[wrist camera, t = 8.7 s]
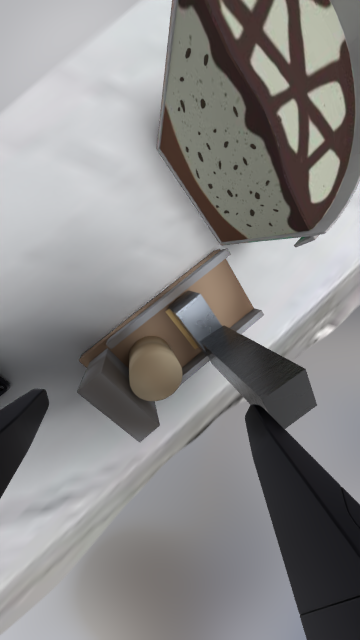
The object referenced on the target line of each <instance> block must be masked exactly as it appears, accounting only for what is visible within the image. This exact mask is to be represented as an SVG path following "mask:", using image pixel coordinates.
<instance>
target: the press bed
mask: <svg viewBox="0 0 360 640" xmlns="http://www.w3.org/2000/svg"><path fill="white" fill-rule="evenodd" d="M229 255H231V254H230V252H229V251H228V249H223V250H220V249H219V250H215V251H213V252H212V253H211V254H209V255H208V256H207V257H206V258H204V259H203V260H202V261H201V262H199V263H198V264H197V265H196V266H194V267H193V268H192V269H190V270H189V271H188V272H187V273H185V274H184V275H183V276H182V277H180V278H179V279H178V280H177V281H175V282H174V283H173V284H171V285H170V286H169V287H168V288H166V289H165V290H164V291H163V292H161V293H160V294H159V295H157V296H156V297H155V298H154V299H152V300H151V301H150V302H149V303H147V304H146V305H145V306H144V307H142V308H141V309H140V310H138V311H137V312H136V313H135V314H133V315H132V316H131V317H130V318H128V319H127V320H126V321H124V322H123V323H122V324H121V325H119V326H118V327H117V328H116V329H114V330H113V331H112V332H111V333H109V334H108V335H107V336H105V337H104V338H103V339H102V340H100V341H99V342H98V343H97V344H95V345H94V346H93V347H92V348H90V349H89V350H88V351H86V352H85V353H84V354H83V355H82V356H81V358H80V359H79V361H80V362H81V363H82V364H83V365H84V366H85V367H86V368H87V369H86V372H85V374H84V376H83V379H82V381H81V383H80V386H79V388H78V391H77V393H78V394H80V395H81V396H82V397H83V398H85V399H86V400H87V401H88V402H90V403H91V404H92V405H93V406H95V407H96V408H97V409H98V410H100V411H101V412H102V413H103V414H105V415H106V416H107V417H108V418H110V419H111V420H112V421H113V422H115V423H116V424H117V425H118V426H120V427H121V428H122V429H123V430H125V431H126V432H127V433H128V434H130V435H131V436H132V437H133V438H135V439H136V440H137V441H138V442H141V441H142V440H143V439H144V438H146V437H147V436H148V435H149V434H150V433H151V432H153V431H154V430H155V429H156V428H157V427H159V426H160V424H159V419H158V415H157V410H156V405H155V401H146V400H143V399H141V398H139V397H138V396H136V395H135V394H134V392H133V391H132V389H131V387H130V381H129V353H130V350H131V348H132V346H133V345H134V343H135V342H137V341H138V340H139V339H141V338H143V337H146V336H157V337H160V338H162V339H164V340H165V341H166V342H167V343H168V344H169V346H170V348H171V350H172V351H173V353H174V355H175V356H176V358H177V360H178V362H179V363H180V365H181V368H182V374H183V375H182V381H181V383H180V385H181V384H182V383H183V382H184V381H186V380H187V379H188V378H189V377H190V376H192V375H193V374H194V373H195V372H196V371H198V370H199V369H200V368H201V367H202V366H204V365H205V364H206V363H207V362H208V361H210V359H209V358H208V357H207V356H206V354H205V353H204V352H203V351H202V350H201V349H200V348H199V347H198V345H197V344H196V343H195V341H194V340H193V339H192V338H191V336H190V335H189V334H188V332H187V331H186V330H185V329H184V327H183V326H182V325H181V323H180V322H179V321H178V319H177V318H176V317H175V316H174V314H173V313H172V312H171V310H170V309H169V308H168V306H169V305H171V304H172V303H173V302H174V301H176V300H177V299H178V298H179V297H181V296H182V295H183V294H184V293H186V292H187V291H188V290H189V291H192V292H196V293H200V294H201V295H202V297H203V298H204V300H205V301H206V303H207V304H208V306H209V307H210V309H211V310H212V312H213V313H214V315H215V316H216V317H217V319H218V320H219V322H220V323H221V325H222V326H226V327H228V328H230V329H232V330H234V331H236V332H237V333H239V334H242V333H243V332H244V331H245V330H247V329H248V328H249V327H250V326H251V325H253V324H254V323H255V322H256V321H257V320H259V319H260V318H261V317H262V316H263V315H264V314H263V312H262V310H258V309H254V308H253V306H252V304H251V302H250V301H249V299H248V297H247V295H246V294H245V292H244V290H243V288H242V287H241V285H240V283H239V281H238V280H237V278H236V276H235V274H234V273H233V271H232V269H231V267H230V266H229V264H228V262H227V260H226V258H227V257H228V256H229ZM180 385H179V386H180Z"/></svg>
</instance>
